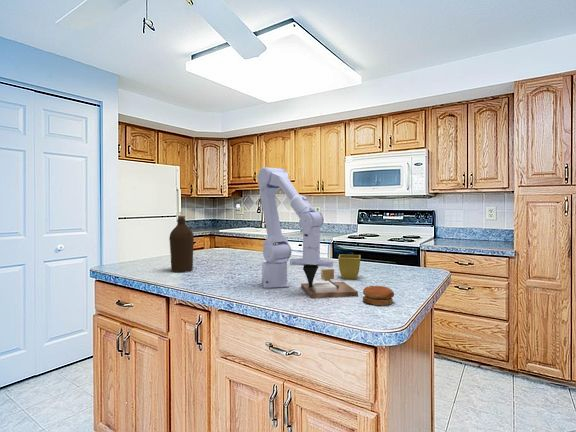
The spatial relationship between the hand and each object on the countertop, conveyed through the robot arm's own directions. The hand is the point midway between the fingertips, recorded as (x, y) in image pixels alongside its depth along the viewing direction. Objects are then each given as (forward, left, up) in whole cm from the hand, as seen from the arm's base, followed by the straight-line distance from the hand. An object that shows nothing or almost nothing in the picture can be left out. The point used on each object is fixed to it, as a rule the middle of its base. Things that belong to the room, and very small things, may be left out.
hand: (310, 287), depth 121 cm
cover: (+4, 0, -1) cm, 4 cm away
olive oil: (-48, +51, -2) cm, 71 cm away
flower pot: (+22, +22, -3) cm, 31 cm away
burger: (+18, -13, -3) cm, 23 cm away
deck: (+7, +2, -2) cm, 7 cm away
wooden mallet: (+8, +4, -1) cm, 9 cm away
